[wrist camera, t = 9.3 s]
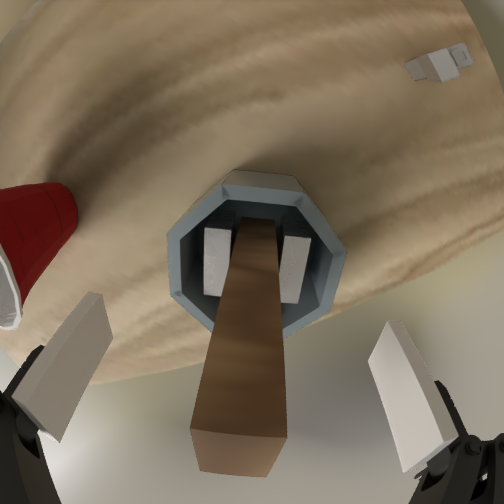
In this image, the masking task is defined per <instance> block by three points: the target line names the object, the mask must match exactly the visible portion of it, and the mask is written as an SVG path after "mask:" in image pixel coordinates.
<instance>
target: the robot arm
mask: <svg viewBox="0 0 504 504" xmlns="http://www.w3.org/2000/svg"><path fill="white" fill-rule="evenodd" d="M112 340H113V335H112V331H111V328H110V324H109V321H108V317H107V313H106V309H105V305H104V301H103V297H102V294H99V293H94V292H88V293H87V294H86V296H85V297H84V298H83V299H82V300H81V301H80V303H79V304H78V305H77V306H76V308H75V309H74V310H73V311H72V312H71V314H70V315H69V316H68V317H67V319H66V320H65V321H64V322H63V324H62V325H61V326H60V327H59V329H58V330H57V331H56V333H55V334H54V335H53V337H52V338H51V339H50V341H49V342H48V343H47V345H46V346H42V345H40V346H39V347H37V348H36V349H34V350H33V351H32V352H31V353H30V355H29V356H28V357H27V359H26V362H24V363H23V364H22V366H21V368H20V369H19V370H18V372H17V373H16V375H15V376H14V378H13V379H12V381H11V382H10V384H9V385H8V387H7V389H6V390H5V391H4V392H3V393H2V392H1V391H0V504H61V501H60V499H59V497H58V494H57V491H56V489H55V486H54V484H53V481H52V478H51V475H50V472H49V469H48V466H47V463H46V459H45V456H44V453H43V449H42V445H41V442H40V438H39V436H38V434H37V432H38V430H39V429H40V430H41V432H42V433H44V434H45V436H47V437H49V438H51V439H52V440H54V441H57V442H58V443H60V441H61V439H62V437H63V435H64V432H65V430H66V428H67V426H68V424H69V422H70V419H71V417H72V415H73V413H74V411H75V409H76V407H77V405H78V403H79V401H80V399H81V397H82V395H83V393H84V390H85V389H86V387H87V385H88V383H89V381H90V379H91V377H92V376H93V374H94V372H95V370H96V368H97V366H98V364H99V363H100V361H101V359H102V357H103V355H104V354H105V352H106V350H107V348H108V346H109V345H110V343H111V341H112ZM368 363H369V366H370V369H371V371H372V374H373V377H374V380H375V383H376V385H377V388H378V391H379V394H380V397H381V400H382V403H383V406H384V409H385V412H386V415H387V418H388V421H389V424H390V428H391V431H392V434H393V438H394V441H395V444H396V448H397V451H398V455H399V458H400V462H401V466H402V470H403V473H405V472H409V471H411V470H414V469H418V468H419V467H421V466H422V465H424V464H425V463H426V462H427V466H428V467H427V468H425V469H424V470H422V471H421V472H419V473H418V474H417V475H416V476H415V478H414V479H416V478H418V477H420V476H421V475H422V477H421V478H420V479H419V481H420V482H419V484H418V486H417V488H416V490H415V492H414V494H413V496H412V498H411V500H410V502H409V504H504V433H501V434H499V435H498V436H497V437H496V438H495V439H494V440H490V441H481V440H480V439H479V438H478V437H477V436H475V435H468V433H467V431H466V429H465V427H464V425H463V422H462V420H461V418H460V416H459V413H458V411H457V409H456V407H454V403H453V401H452V399H450V398H451V397H450V395H449V393H448V391H447V389H446V387H445V386H444V385H442V383H441V382H440V381H439V380H438V381H433V379H432V377H431V375H430V373H429V371H428V369H427V367H426V365H425V364H424V361H423V360H422V358H421V356H420V354H419V352H418V350H417V349H416V347H415V345H414V344H413V341H412V340H411V338H410V336H409V334H408V333H407V331H406V329H405V328H404V326H403V324H402V323H401V321H387V322H386V325H385V327H384V329H383V331H382V334H381V336H380V338H379V340H378V342H377V344H376V346H375V348H374V350H373V352H372V354H371V356H370V358H369V360H368ZM486 473H487V479H485V480H483V479H482V476H483V475H485V474H486Z"/></svg>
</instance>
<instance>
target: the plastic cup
mask: <svg viewBox="0 0 504 504" xmlns="http://www.w3.org/2000/svg"><path fill="white" fill-rule="evenodd" d="M77 221H78V213H77V206H76V203H75V201H74V198H73V196H72V194H71V193H70V192H69V190H68V189H67V188H66V187H65V186H63V185H61V184H59V183H40V184H30V185H21V186H16V187H11V188H5V189H1V190H0V328H2V329H4V330H14V329H17V326H18V324H19V322H20V319H21V317H22V314H23V311H22V308H23V304H24V302H25V299H26V297H27V296H28V293H29V291H30V290H31V288H32V287H33V285H34V284H35V282H36V281H37V280H38V278H39V277H40V276H41V274H42V273H43V272H44V270H45V269H46V268H47V266H48V265H49V264H50V262H51V261H52V260H53V259H54V257H55V256H56V254H57V253H58V251H59V250H60V249H61V247H62V246H63V245H64V244H65V243H66V242H67V241H68V240H69V238H70V237H71V235H72V234H73V232H74V230H75V229H76V225H77Z"/></svg>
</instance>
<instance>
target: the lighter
mask: <svg viewBox="0 0 504 504" xmlns="http://www.w3.org/2000/svg"><path fill="white" fill-rule="evenodd" d="M472 64H474V61H473V59H472V57H471V55H470V52H469V51H468V49H467V47H466V45H465V44H464V43H460V44H456V45H453V46H450V47H446V48H443V49H440V50H437V51H434V52H431V53H428V54H425V55H422V56H420V57H417V58H414V59H412V60H409V61H406V62H405V63H404V65H405V67H406V69H407V70H408V72H409V74H410V76H411V78H412V79H413V80H414V81H418V80H422V79H428V80H429V81H434V82H440V83H443V82H446V81H449V80H452V79H455V78H458V77H460V73H459V71H458V69H461V68H464V67H466V66H469V65H472Z"/></svg>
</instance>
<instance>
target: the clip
mask: <svg viewBox="0 0 504 504" xmlns="http://www.w3.org/2000/svg"><path fill="white" fill-rule="evenodd" d="M236 221H237V211H233V210H222V209H215V211H214V212H213V214H212V216H211V218H210V219H209V221H208V223H207V225H206V226H205V233H204V295H212V296H221V295H222V291H223V287H224V283H225V279H226V275H227V271H228V267H229V263H230V260H231V256H232V252H233V248H234V244H235V234H236ZM310 242H311V237H310V234H309V232H308V230H307V227H306V225H305V222H304V220H303V218H300V217H291V216H282V215H281V220H280V227H279V234H278V242H277V255H278V268H279V282H280V296H281V302H282V303H295V304H298V300H299V296H300V291H301V287H302V282H303V277H304V273H305V268H306V263H307V258H308V253H309V247H310Z"/></svg>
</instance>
